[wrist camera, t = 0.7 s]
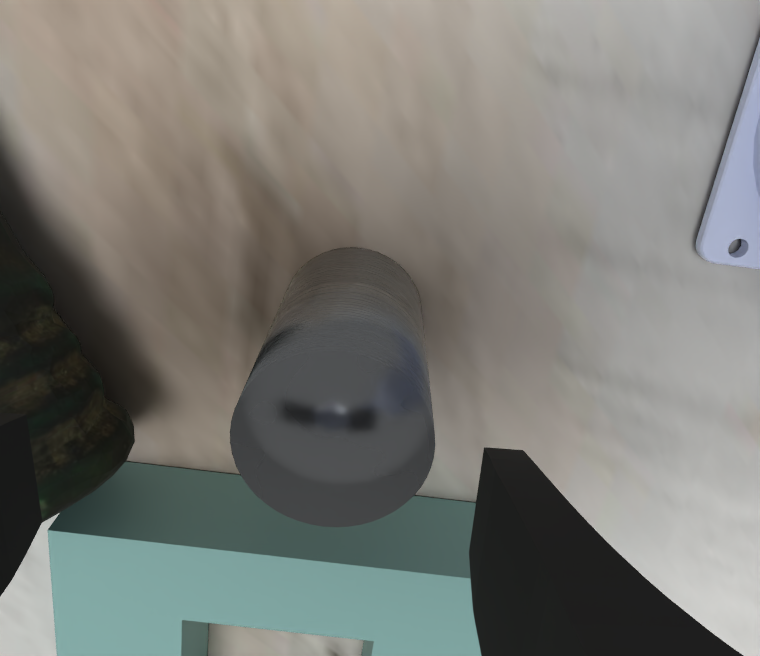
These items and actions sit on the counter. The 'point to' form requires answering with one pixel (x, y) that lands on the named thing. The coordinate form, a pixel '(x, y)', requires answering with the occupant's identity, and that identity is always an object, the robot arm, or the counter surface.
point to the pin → (339, 395)
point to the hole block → (253, 570)
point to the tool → (54, 388)
